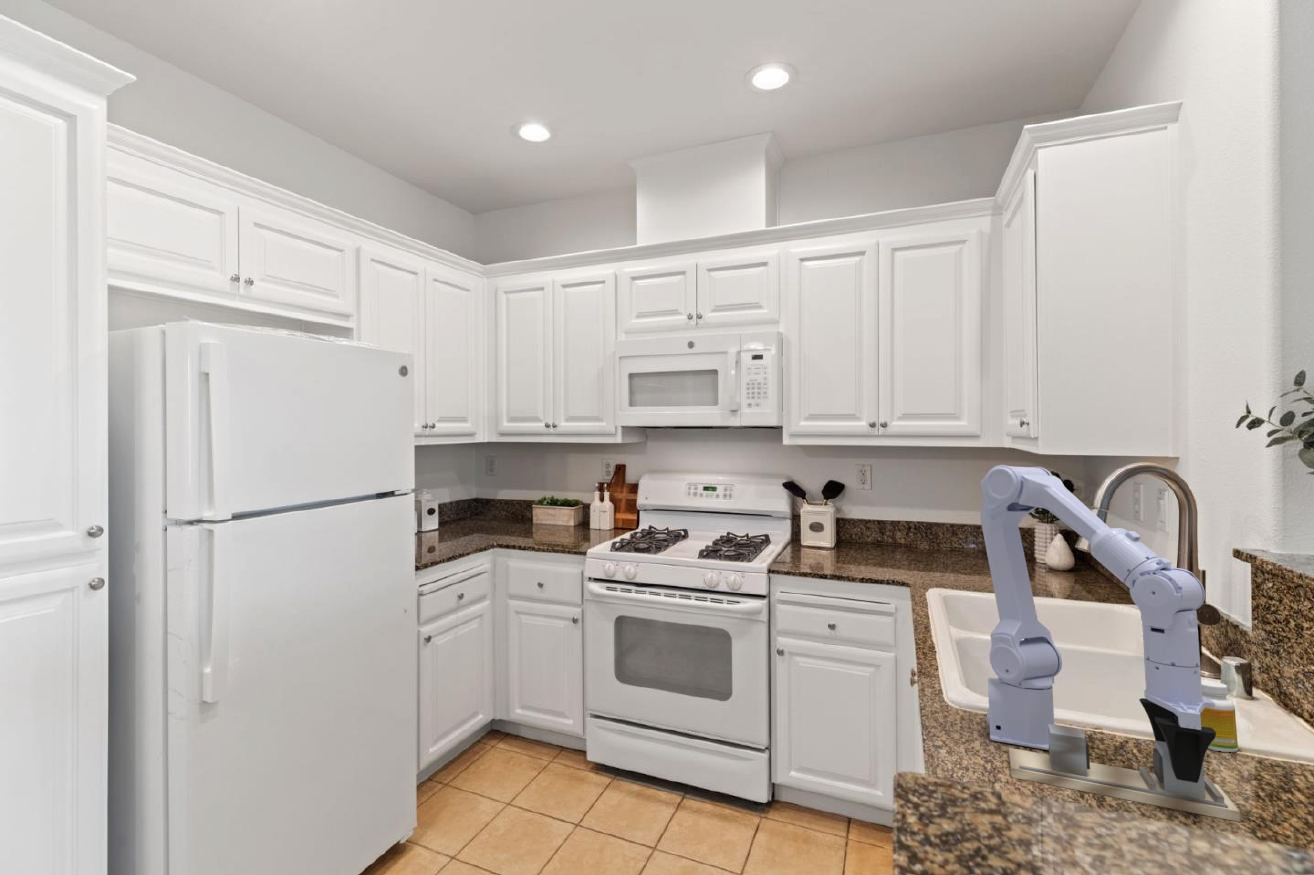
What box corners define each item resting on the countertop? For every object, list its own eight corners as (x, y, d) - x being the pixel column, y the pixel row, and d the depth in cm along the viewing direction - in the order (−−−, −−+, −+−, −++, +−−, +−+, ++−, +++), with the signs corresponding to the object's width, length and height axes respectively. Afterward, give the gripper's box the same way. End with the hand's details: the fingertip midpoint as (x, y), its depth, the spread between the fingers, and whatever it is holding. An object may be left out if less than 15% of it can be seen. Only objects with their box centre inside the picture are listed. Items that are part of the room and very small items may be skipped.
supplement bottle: (1247, 755, 94) (1242, 689, 95) (1206, 751, 95) (1202, 686, 96) (1222, 741, 99) (1218, 679, 100) (1184, 738, 100) (1180, 677, 101)
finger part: (1161, 790, 79) (1158, 750, 80) (1153, 778, 83) (1151, 739, 83) (1205, 799, 77) (1202, 757, 78) (1195, 786, 81) (1193, 746, 81)
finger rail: (1011, 776, 85) (1009, 730, 86) (1009, 756, 92) (1007, 713, 93) (1240, 822, 74) (1236, 768, 75) (1218, 794, 81) (1214, 745, 82)
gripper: (1230, 680, 73) (1239, 799, 72) (1193, 653, 86) (1200, 754, 85) (1156, 671, 76) (1162, 785, 75) (1131, 647, 89) (1136, 744, 88)
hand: (1178, 768), depth 80 cm, fingers open, 7 cm apart
